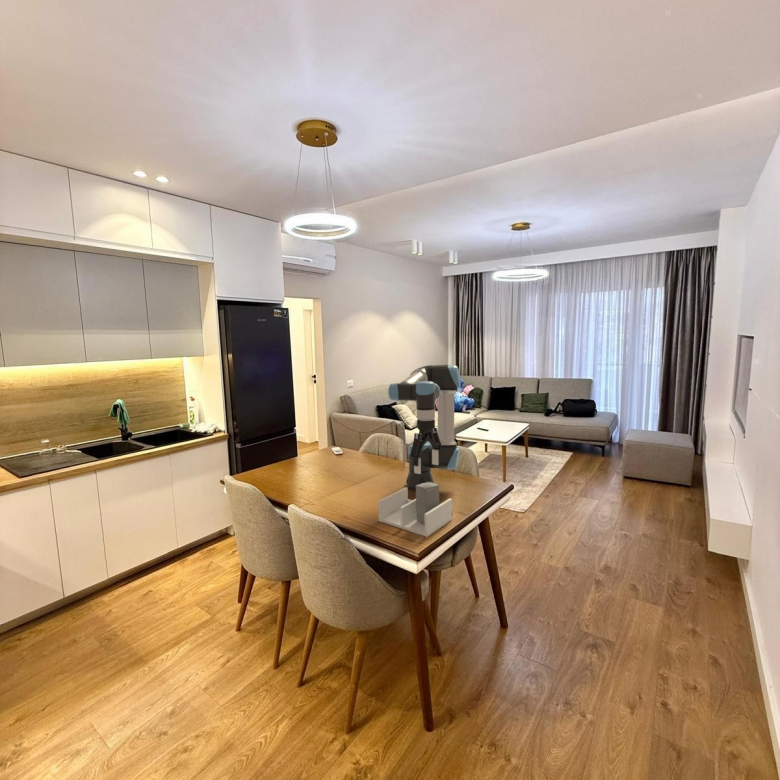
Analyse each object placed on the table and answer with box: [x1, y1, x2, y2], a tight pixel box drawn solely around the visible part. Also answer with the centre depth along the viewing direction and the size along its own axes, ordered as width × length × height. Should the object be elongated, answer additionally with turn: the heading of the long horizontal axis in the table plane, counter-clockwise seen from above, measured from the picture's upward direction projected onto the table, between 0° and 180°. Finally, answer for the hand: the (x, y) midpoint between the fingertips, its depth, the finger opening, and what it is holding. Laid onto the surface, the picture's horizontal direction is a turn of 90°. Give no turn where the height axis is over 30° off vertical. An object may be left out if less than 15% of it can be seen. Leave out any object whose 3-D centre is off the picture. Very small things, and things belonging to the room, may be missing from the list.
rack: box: [377, 486, 453, 538], centre depth 176 cm, size 20×25×9 cm
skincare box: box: [415, 482, 440, 524], centre depth 172 cm, size 8×7×16 cm
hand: (426, 468), depth 171 cm, fingers open, 13 cm apart
